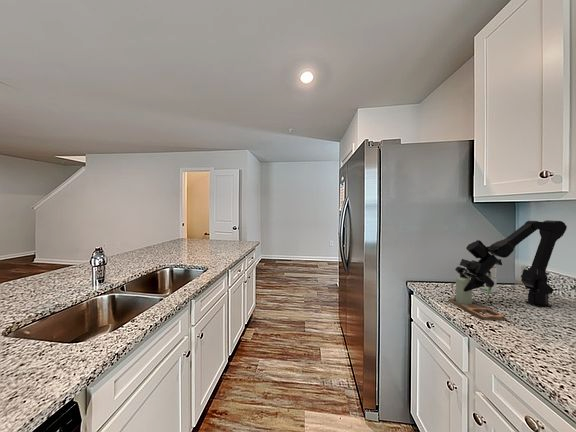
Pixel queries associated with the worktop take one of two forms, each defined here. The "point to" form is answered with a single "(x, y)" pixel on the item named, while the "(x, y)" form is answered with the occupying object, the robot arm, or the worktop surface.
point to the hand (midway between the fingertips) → (460, 289)
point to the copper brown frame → (478, 310)
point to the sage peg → (461, 295)
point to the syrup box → (493, 278)
